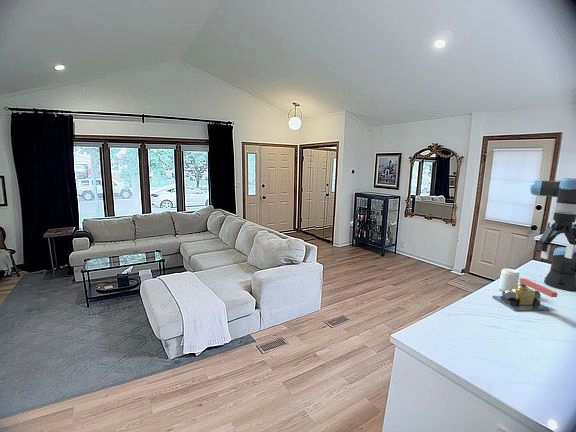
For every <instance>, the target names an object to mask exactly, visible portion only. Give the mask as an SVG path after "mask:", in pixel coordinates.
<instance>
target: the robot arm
mask: <svg viewBox="0 0 576 432" xmlns="http://www.w3.org/2000/svg"><path fill="white" fill-rule="evenodd" d="M530 194H531V195H533V196H538V197H551V198H552V197H553V198H556V202H555V203H556V204H555V208H554V211H555V212H553V218H552V220H553V221H554V222H548V223H547V226H546V228H545V230H544V232H543V233H542V234H541V237H540V238H539V240H538V243H540V244H541V252H540V253H541V254H540V258H541V259H544V260H548V259H549V255H550V250H551V249H550V248H551V243H552V242H553V240H554V239H556V238H557V237H558V235H561V234H564V236H565V238H566V239H567V241H568V243H566V247H565V246H564V247H562V246H559V247H556V248H555V249H554V251H553V254H552V259H551V260H552V261H551V264H550V270H549V271H548V273H547V275H546V277H544V280H543V283H544V284H545V285H547V286H550V287H552V288H555V289H559V290H564V291H571V292H572V291H573V292H574V291H575V292H576V223H575V222H576V177H574V178H573V177H572V178H571V177H570V178H568V177H563V178H561V179H560V180H534V181H533V182H532V183H531V185H530Z"/></svg>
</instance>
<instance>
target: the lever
mask: <svg viewBox="0 0 576 432" xmlns="http://www.w3.org/2000/svg"><path fill="white" fill-rule="evenodd" d="M518 283H519V285H520V286H523V287H526V286H527V287H528V288H530V289H532V290H534V291H538V292H539V293H540V294H541V293H542V294H543V295H546V296H548V297H550V298H557V297H558V292H556V291H555V290H552V289H549V288H547V287H545V286H543V285H540V284H539V283H536V282H534V281H532V280H530V279H527V278H523V277H522V278H519V280H518Z"/></svg>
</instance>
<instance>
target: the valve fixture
mask: <svg viewBox="0 0 576 432" xmlns="http://www.w3.org/2000/svg"><path fill="white" fill-rule="evenodd" d="M540 298H541V292H539V291H537V290H535V289H533V288H531V287H529V286H526V287H523V286H520V284H518V285H510V290H509V291H502V293H501V295H492V299H494V300H496V302H499V303H500V304H502V305H504V306H506V308H509V309H510V310H512V311H514V312H548V311H550V307H548V306H545V305H544V304H542V303H541V300H539V299H540Z"/></svg>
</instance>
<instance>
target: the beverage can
mask: <svg viewBox="0 0 576 432" xmlns="http://www.w3.org/2000/svg"><path fill="white" fill-rule="evenodd" d="M519 277H520V271H519V270H517V269H513V268H511V267H510V268H509V267H508V268H507V267H504V268H502V270H501V273H500V276H499V283H498V290H500V291H502V292H503V291H509V290H510V285H519V281H520V278H519Z"/></svg>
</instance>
